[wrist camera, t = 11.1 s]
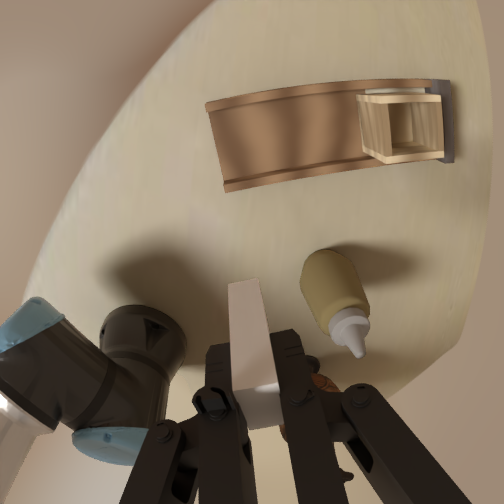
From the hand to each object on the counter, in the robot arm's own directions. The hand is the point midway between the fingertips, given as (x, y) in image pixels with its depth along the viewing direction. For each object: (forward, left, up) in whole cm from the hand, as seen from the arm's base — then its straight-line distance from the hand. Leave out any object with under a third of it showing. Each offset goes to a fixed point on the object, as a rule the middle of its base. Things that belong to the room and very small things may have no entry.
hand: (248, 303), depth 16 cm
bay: (+13, +4, -26) cm, 30 cm away
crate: (+20, +4, -25) cm, 32 cm away
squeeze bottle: (+9, -16, -27) cm, 32 cm away
